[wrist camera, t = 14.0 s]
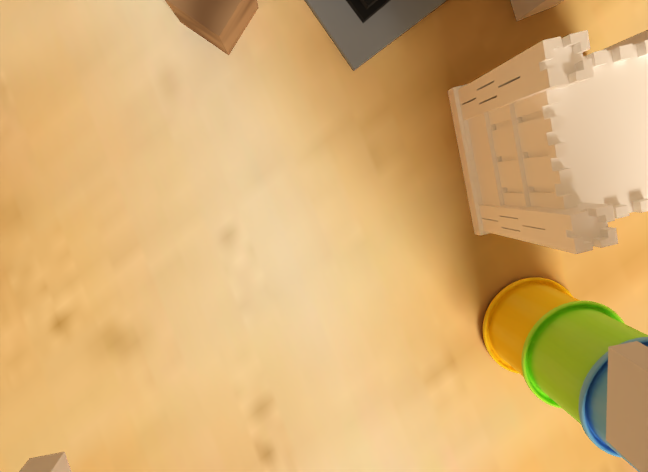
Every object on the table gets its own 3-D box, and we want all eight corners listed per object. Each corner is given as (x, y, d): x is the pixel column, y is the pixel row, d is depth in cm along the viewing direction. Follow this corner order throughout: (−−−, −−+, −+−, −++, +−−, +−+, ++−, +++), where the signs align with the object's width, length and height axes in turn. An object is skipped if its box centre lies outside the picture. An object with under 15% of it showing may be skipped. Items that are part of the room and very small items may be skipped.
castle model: (587, 58, 41) (755, -15, 26) (608, 200, 43) (776, 209, 28) (447, 90, 40) (536, 35, 25) (474, 233, 42) (571, 260, 27)
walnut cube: (181, 22, 38) (163, -2, 33) (210, -26, 38) (197, -58, 33) (228, 55, 38) (219, 36, 34) (258, 8, 38) (252, -19, 33)
